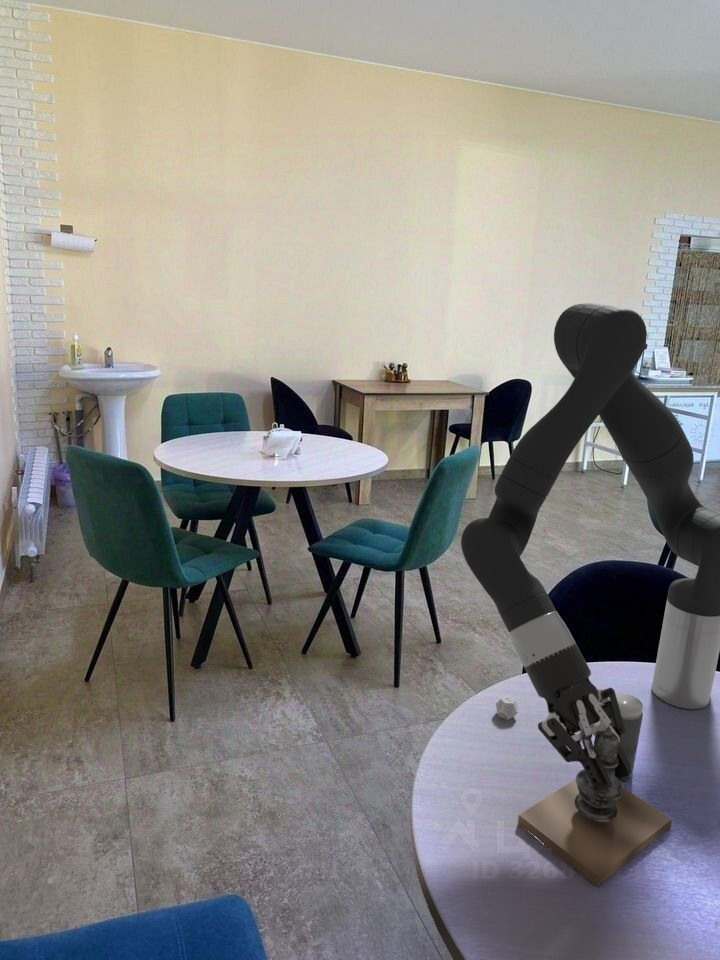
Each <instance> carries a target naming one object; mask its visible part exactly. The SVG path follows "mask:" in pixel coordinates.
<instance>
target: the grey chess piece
mask: <svg viewBox="0 0 720 960" xmlns="http://www.w3.org/2000/svg"><path fill="white" fill-rule="evenodd" d="M606 730H607V731H606ZM606 730H603V731H602V730H601V731H599V732H598V733H597V734H596V736H595V737H594V741H593V742H594V743H593V746H594V749H595V752H596V757H599V759H600V761H601V763H602V765H603V767H604V768H605V770H606V772H607V774H608V776H609V778H610V780H611V782H612V787H610V788H609V789H606V790H602V791H598V790H597V789H596V788H595V787H594V786H593V785H592V783H591V781H590V779H589V777H588V775H587V773H586V771H585V769H584V768H583V769H581V770H579V771H578V772H577V774H576V776H575V779H576V783H577V787H578V790H579V794H578V795H577V796H576V798H575V806H576V808H577V810H578V811H579V812H580V813H581V814H582V815H584V816H585V817H587V818H589V819H591V820H594V821H598V822H608V821H611V820H613V819H614V818H615V817H616V815H617V808H616V806H615V804H616V803H617V801H618V800H619V798H620V797H621V796H622V795H623V793H624V788H625V787H624V786H623V782H620V781H619V779H618V778H616V777H615V776H614V773H615V767H617V766H618V764H619V760H618V758H617V752H618V746H619V739H618V737H617V736H616V735H615V734H614V733H612V732H611V731H612V730H611V728H610V727H608V728H606Z"/></svg>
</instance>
